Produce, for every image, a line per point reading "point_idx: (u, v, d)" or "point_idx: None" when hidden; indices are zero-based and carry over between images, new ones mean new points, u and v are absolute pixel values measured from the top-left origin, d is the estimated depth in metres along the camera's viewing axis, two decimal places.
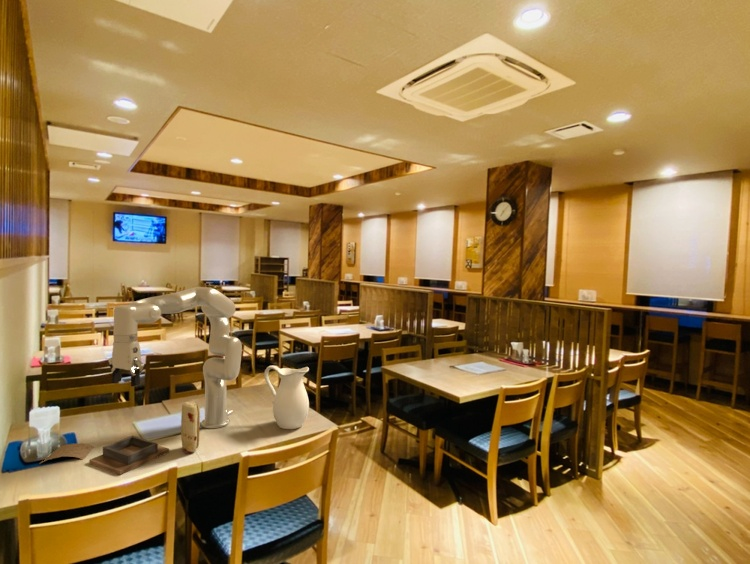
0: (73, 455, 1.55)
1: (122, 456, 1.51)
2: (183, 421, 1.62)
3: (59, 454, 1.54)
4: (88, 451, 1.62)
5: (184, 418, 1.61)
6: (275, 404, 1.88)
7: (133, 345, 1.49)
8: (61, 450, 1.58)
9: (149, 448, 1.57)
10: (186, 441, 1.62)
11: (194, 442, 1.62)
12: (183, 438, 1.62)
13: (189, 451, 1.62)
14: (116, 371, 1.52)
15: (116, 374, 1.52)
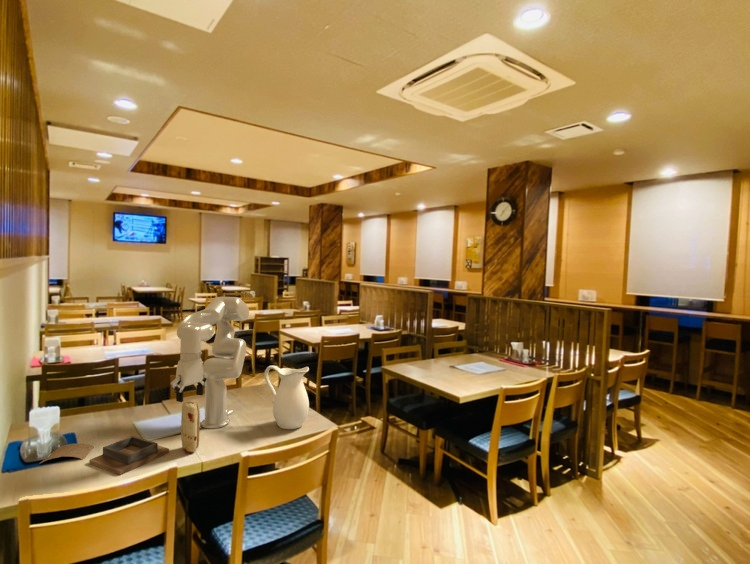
0: (73, 455, 1.55)
1: (122, 456, 1.51)
2: (183, 421, 1.62)
3: (59, 454, 1.54)
4: (88, 451, 1.62)
5: (184, 418, 1.61)
6: (275, 404, 1.88)
7: None
8: (61, 450, 1.58)
9: (149, 448, 1.57)
10: (186, 441, 1.62)
11: (194, 442, 1.62)
12: (183, 438, 1.62)
13: (189, 451, 1.62)
14: None
15: None
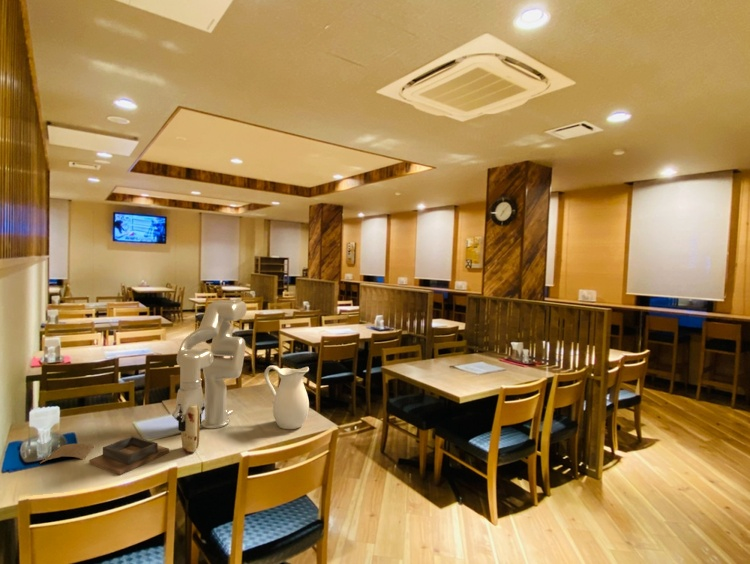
0: (73, 455, 1.55)
1: (122, 456, 1.51)
2: None
3: (59, 454, 1.54)
4: (88, 451, 1.62)
5: None
6: (275, 404, 1.88)
7: None
8: (61, 450, 1.58)
9: (149, 448, 1.57)
10: (186, 441, 1.62)
11: (194, 442, 1.62)
12: (183, 438, 1.62)
13: (189, 451, 1.62)
14: None
15: None
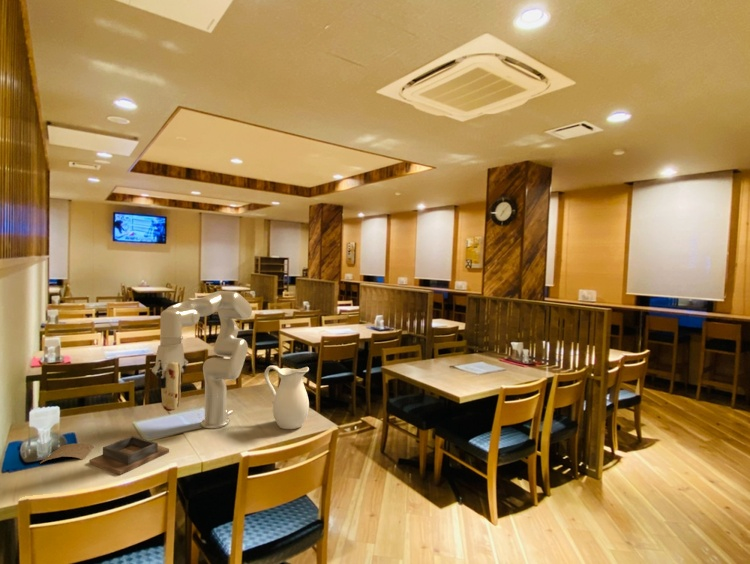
0: (73, 455, 1.55)
1: (122, 456, 1.51)
2: None
3: (59, 454, 1.54)
4: (88, 451, 1.61)
5: None
6: (275, 404, 1.88)
7: None
8: (61, 450, 1.58)
9: (149, 448, 1.57)
10: (166, 398, 1.58)
11: (175, 399, 1.59)
12: (163, 395, 1.58)
13: (169, 409, 1.59)
14: None
15: None
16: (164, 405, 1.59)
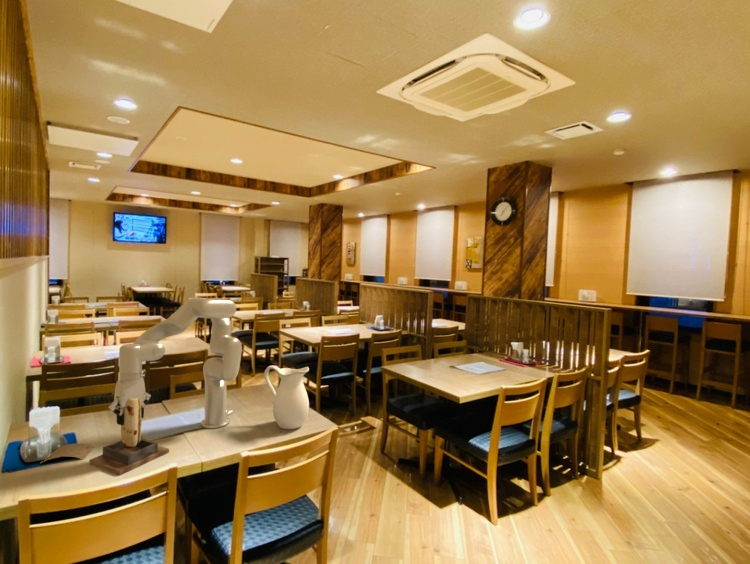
0: (73, 455, 1.55)
1: (122, 456, 1.51)
2: None
3: (59, 454, 1.54)
4: (88, 451, 1.61)
5: None
6: (275, 404, 1.88)
7: None
8: (61, 450, 1.58)
9: (149, 448, 1.57)
10: (125, 435, 1.54)
11: (134, 436, 1.54)
12: (122, 432, 1.54)
13: (128, 446, 1.54)
14: None
15: None
16: (123, 442, 1.55)
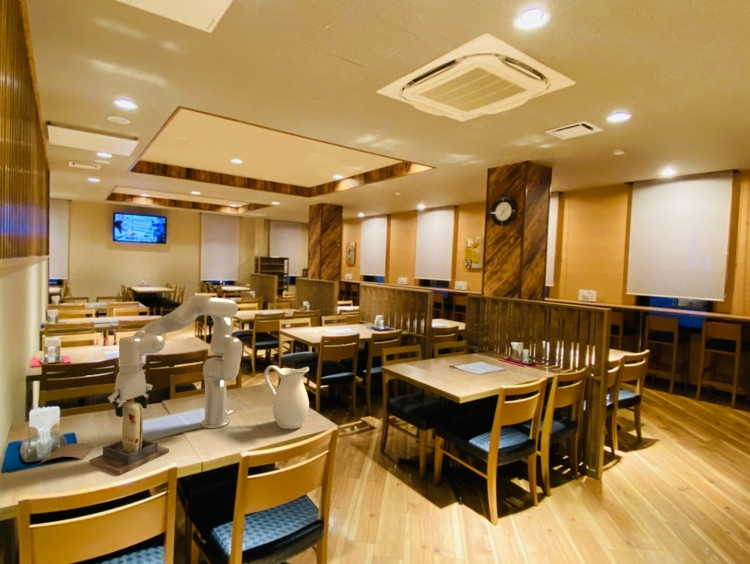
0: (73, 455, 1.55)
1: (122, 456, 1.51)
2: (124, 422, 1.55)
3: (59, 454, 1.54)
4: (88, 451, 1.61)
5: (125, 420, 1.54)
6: (275, 404, 1.88)
7: None
8: (61, 450, 1.58)
9: (149, 448, 1.57)
10: (126, 444, 1.54)
11: (135, 445, 1.55)
12: (123, 440, 1.55)
13: None
14: None
15: None
16: (124, 450, 1.56)
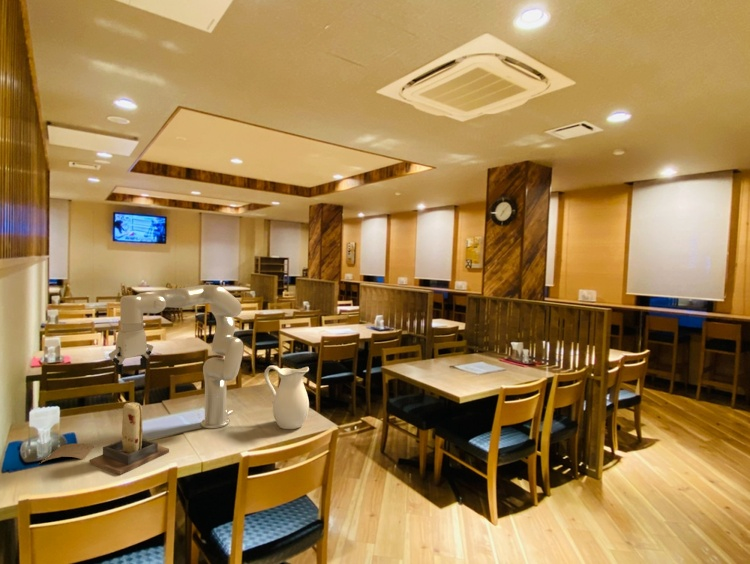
0: (73, 455, 1.55)
1: (122, 456, 1.51)
2: (123, 423, 1.55)
3: (59, 454, 1.54)
4: (88, 451, 1.61)
5: (124, 420, 1.54)
6: (275, 404, 1.88)
7: None
8: (61, 450, 1.58)
9: (149, 448, 1.57)
10: (126, 444, 1.54)
11: (135, 445, 1.55)
12: (123, 441, 1.55)
13: None
14: None
15: None
16: (124, 450, 1.56)
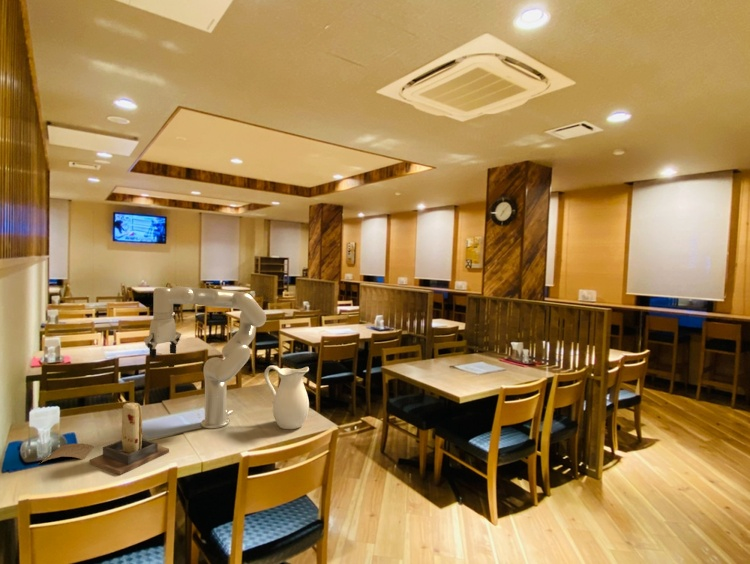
0: (73, 455, 1.55)
1: (122, 456, 1.51)
2: (123, 423, 1.55)
3: (59, 454, 1.54)
4: (88, 451, 1.61)
5: (124, 420, 1.54)
6: (275, 404, 1.88)
7: None
8: (61, 450, 1.58)
9: (149, 448, 1.57)
10: (126, 444, 1.54)
11: (135, 445, 1.55)
12: (123, 441, 1.55)
13: None
14: None
15: None
16: (124, 450, 1.56)
